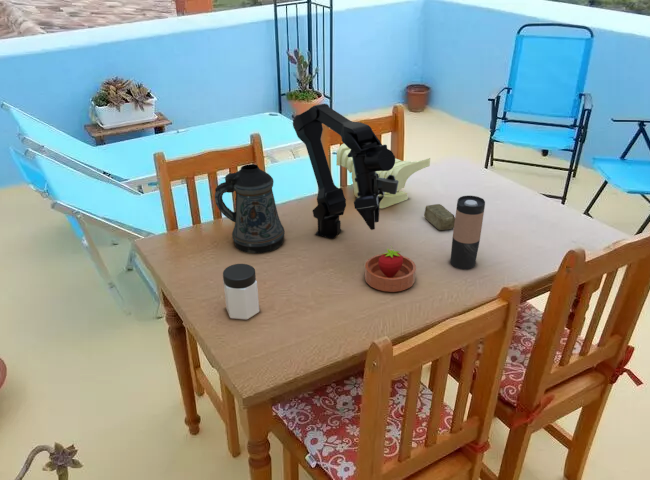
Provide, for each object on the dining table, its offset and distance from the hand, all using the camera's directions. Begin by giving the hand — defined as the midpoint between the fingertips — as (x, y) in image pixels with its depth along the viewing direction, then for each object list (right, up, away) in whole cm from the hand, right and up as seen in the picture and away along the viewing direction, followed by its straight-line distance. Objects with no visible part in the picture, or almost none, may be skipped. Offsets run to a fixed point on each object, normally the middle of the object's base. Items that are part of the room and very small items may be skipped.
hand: (374, 225), depth 167 cm
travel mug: (+26, -11, +5) cm, 29 cm away
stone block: (+24, +3, +27) cm, 36 cm away
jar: (-36, -24, -14) cm, 45 cm away
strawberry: (+4, -15, -3) cm, 16 cm away
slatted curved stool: (+6, +14, +44) cm, 47 cm away
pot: (+4, -16, -3) cm, 16 cm away
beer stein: (-36, -4, +17) cm, 40 cm away
